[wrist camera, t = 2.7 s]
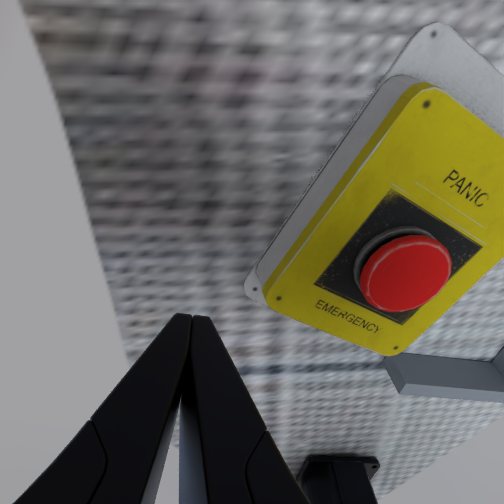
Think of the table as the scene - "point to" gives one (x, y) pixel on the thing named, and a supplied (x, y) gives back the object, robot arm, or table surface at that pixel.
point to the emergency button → (398, 204)
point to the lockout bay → (447, 377)
